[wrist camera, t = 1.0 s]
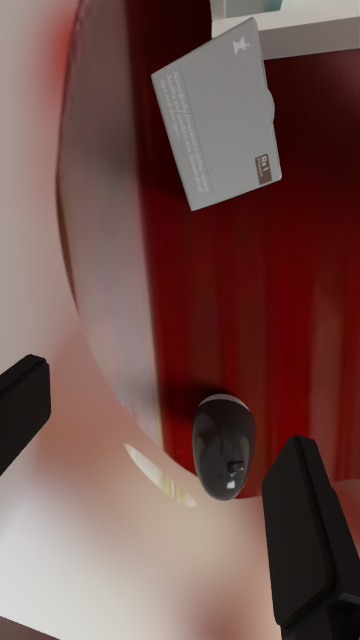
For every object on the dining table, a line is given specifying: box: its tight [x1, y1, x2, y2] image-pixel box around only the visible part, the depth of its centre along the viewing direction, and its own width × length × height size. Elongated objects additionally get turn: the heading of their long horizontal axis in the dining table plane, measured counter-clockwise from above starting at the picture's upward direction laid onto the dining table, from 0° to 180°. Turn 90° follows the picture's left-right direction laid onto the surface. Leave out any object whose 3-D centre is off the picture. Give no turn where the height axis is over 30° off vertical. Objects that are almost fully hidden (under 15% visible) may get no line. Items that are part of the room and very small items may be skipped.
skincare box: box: [151, 17, 282, 211], centre depth 22 cm, size 8×7×16 cm
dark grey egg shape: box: [191, 394, 256, 501], centre depth 38 cm, size 10×10×15 cm
